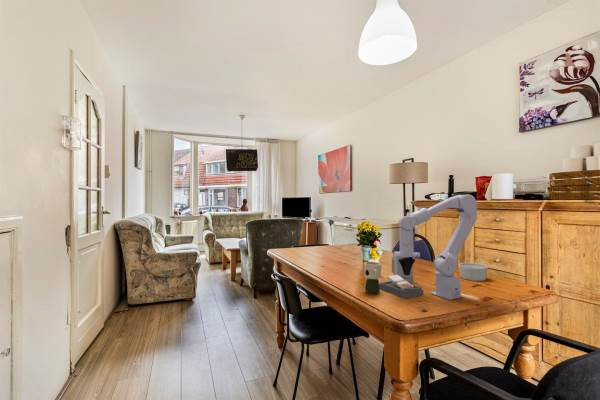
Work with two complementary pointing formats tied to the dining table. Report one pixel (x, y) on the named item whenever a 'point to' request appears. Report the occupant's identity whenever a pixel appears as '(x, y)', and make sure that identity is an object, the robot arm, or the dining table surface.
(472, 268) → the ramekin
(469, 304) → the dining table surface
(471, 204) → the robot arm
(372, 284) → the character mug
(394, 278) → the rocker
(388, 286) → the breaker panel
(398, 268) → the circuit breaker
